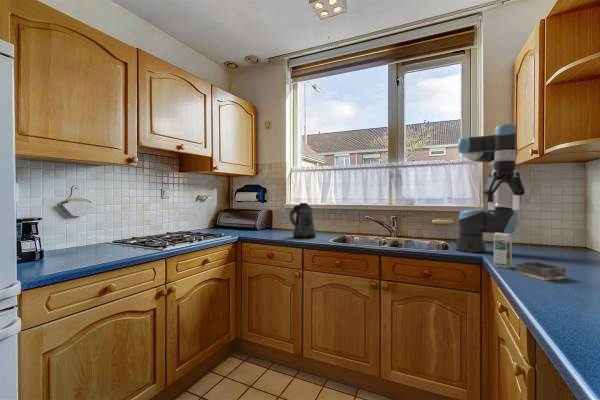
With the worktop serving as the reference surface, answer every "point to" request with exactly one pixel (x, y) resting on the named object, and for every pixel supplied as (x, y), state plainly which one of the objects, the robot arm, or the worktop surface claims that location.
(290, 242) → the worktop surface
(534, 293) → the worktop surface
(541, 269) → the frame
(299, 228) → the black handled container
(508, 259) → the syrup box
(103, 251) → the worktop surface
